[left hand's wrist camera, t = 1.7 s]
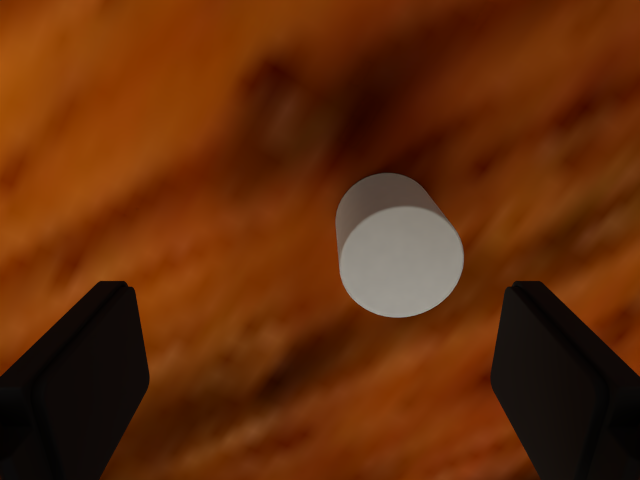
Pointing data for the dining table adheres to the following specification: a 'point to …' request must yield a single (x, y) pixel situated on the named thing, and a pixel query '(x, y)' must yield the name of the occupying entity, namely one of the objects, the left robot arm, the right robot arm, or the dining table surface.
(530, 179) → the dining table surface
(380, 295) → the canister
